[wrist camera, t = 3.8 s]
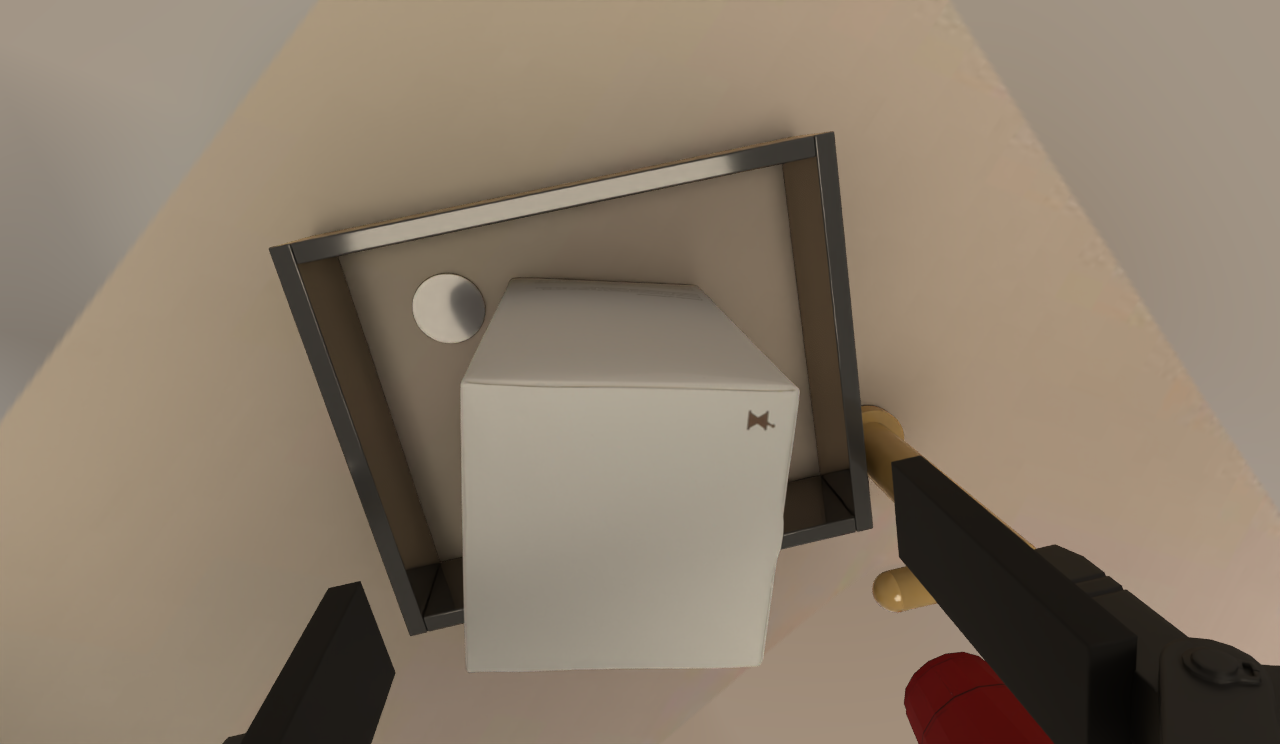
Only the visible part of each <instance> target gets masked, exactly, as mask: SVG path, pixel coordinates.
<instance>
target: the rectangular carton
mask: <svg viewBox="0 0 1280 744" xmlns="http://www.w3.org/2000/svg"><path fill="white" fill-rule="evenodd" d="M799 395H800V391H799V389H798V387H797V386H796V385H795V384H794V383H793V382H792V381H791V380H790V379H789V378H788V377H787V376H786V375H785V374H784V373H783V372H782V371H781V370H780V369H779V368H778V367H777V366H776V365H775V364H774V363H773V362H772V361H771V360H770V359H769V358H768V357H767V356H766V355H765V354H764V353H763V352H762V351H761V350H760V349H759V348H758V347H757V346H756V345H755V344H754V343H753V342H752V341H751V340H750V339H749V338H748V337H747V336H746V335H745V334H744V333H743V332H742V331H741V330H740V329H739V328H738V327H737V326H736V325H735V324H734V323H733V322H732V321H731V320H730V319H729V318H728V317H727V316H726V314H725V313H724V312H723V311H722V310H721V309H720V308H719V307H717V305H716V304H715V303H714V302H713V301H712V300H711V299H710V298H709V297H708V296H707V295H706V294H705V293H704V292H703V291H702V290H701V289H700V288H699V287H698V286H695V285H679V284H656V283H632V282H609V281H585V280H564V279H543V278H515V279H511V280H510V282H509V284H508V286H507V288H506V290H505V292H504V295H503V297H502V299H501V301H500V303H499V305H498V307H497V309H496V311H495V313H494V315H493V317H492V319H491V321H490V323H489V325H488V328H487V330H486V331H485V333H484V335H483V337H482V339H481V342H480V344H479V346H478V348H477V350H476V352H475V354H474V356H473V358H472V360H471V362H470V364H469V366H468V368H467V371H466V373H465V375H464V377H463V379H462V381H461V385H460V407H461V481H462V540H463V593H464V632H465V662H466V670H467V671H468V673H475V672H532V671H558V670H578V669H659V668H670V669H687V668H735V667H755V666H760V664H761V663H762V661H763V657H764V649H765V642H766V635H767V628H768V620H769V613H770V606H771V599H772V591H773V584H774V577H775V570H776V564H777V559H778V556H779V552H780V549H781V544H782V538H783V525H784V521H783V513H784V506H785V499H786V491H787V482H788V475H789V468H790V462H791V455H792V449H793V442H794V436H795V428H796V420H797V412H798V405H799Z"/></svg>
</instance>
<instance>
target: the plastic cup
mask: <svg viewBox="0 0 1280 744" xmlns="http://www.w3.org/2000/svg"><path fill="white" fill-rule="evenodd" d="M904 705H905V708H906V715H907V717H908V719H909V722H910V724H911V727H912V729H913V732H914V734H915V736H916V739H917V741H918V744H1054V743H1053V741H1052V740H1051V739H1050V738H1049V737H1048V735H1047V734H1046V733H1045V732H1044V731H1043V729H1042V728H1041V727H1040V726H1039V725H1038V723H1037V722H1036V721H1035V720H1034V719H1033V717H1032V716H1031V715H1030V714H1029V713H1028V711H1027V710H1026V709H1025V708H1024V707H1023V705H1022V704H1021V703H1020V702H1019V701H1018V699H1017V698H1016V697H1015V696H1014V695H1013V693H1012V692H1011V691H1010V690H1009V689H1008V687H1007V686H1006V685H1005V684H1004V683H1003V681H1002V680H1001V679H1000V678H999V677H998V675H997V674H996V673H995V672H994V671H993V669H992V668H991V667H990V666H989V665H988V663H987V662H986V661H984V660H983V659H982V658H981V657H979V656H976V655H973V654H969V653H965V652H957V653H948V654H944V655H942V656H939V657H937V658H935V659H932V660H930V661H928V662H927V663H926V664H924V665H923V666H922V667H921V668H920V669H919V670H918V671H917V672H915V673H914V675H913V676H912V678H911V680H910V682H909V683H908V685H907V687H906V689H905V699H904Z"/></svg>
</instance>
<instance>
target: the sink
mask: <svg viewBox="0 0 1280 744" xmlns="http://www.w3.org/2000/svg"><path fill="white" fill-rule="evenodd" d="M779 164H782V166H783V174H784V183H785V191H786V199H787V207H788V215H789V223H790V231H791V240H792V248H793V256H794V264H795V272H796V280H797V288H798V297H799V305H800V313H801V321H802V329H803V337H804V345H805V354H806V362H807V370H808V378H809V386H810V394H811V402H812V411H813V419H814V427H815V435H816V443H817V451H818V459H819V468H820V476H814V477H810V478H806V479H801V480H797V481H792V482H788V483H787V491H786V499H785V506H784V513H783V521H784V525H783V538H782V544H781V549H785V548H789V547H794V546H798V545H802V544H807V543H811V542H815V541H819V540H824V539H828V538H832V537H837V536H841V535H845V534H849V533H854V532H856V531H857V532H859V531H863V530H868V529H872V528H873V522H872V512H871V502H870V492H869V481H868V477H869V478H870V479H871V480H872V481H873V482H874V483H875V484H876V485H877V486H878V487H879V488H880V489H881V490H882V491H883V492H884V493H885V494H886V495H887V496H888V497H889V498H890V499H891V500H892V501H893V502H894V491H893V479H892V467H891V462H893V461H897V460H902V459H906V458H910V457H915V456H919V455H921V454H920V453H919V452H918V451H916V450H915V449H914V448H913V447H911V446H910V445H909V444H908V443H906V442H905V441H904V433H903V429H902V426H901V424H900V423H899V421H898V420H897V419H896V418H895V417H894V416H892V415H891V414H890V413H889V412H887V411H886V410H884V409H882V408H880V407H877V406H861V400H860V390H859V380H858V369H857V359H856V349H855V339H854V329H853V319H852V308H851V298H850V288H849V278H848V268H847V257H846V247H845V237H844V227H843V217H842V207H841V196H840V186H839V176H838V166H837V156H836V146H835V135H834V132H833V131H831V132H823V133H815V134H807V135H799V136H793V137H788V138H783V139H779V140H774V141H769V142H764V143H759V144H754V145H749V146H744V147H740V148H735V149H730V150H725V151H720V152H715V153H711V154H706V155H701V156H696V157H691V158H686V159H681V160H677V161H672V162H667V163H662V164H657V165H652V166H648V167H643V168H638V169H633V170H628V171H623V172H618V173H614V174H609V175H604V176H599V177H594V178H589V179H585V180H580V181H575V182H570V183H565V184H560V185H555V186H551V187H546V188H541V189H536V190H531V191H526V192H522V193H517V194H512V195H507V196H502V197H497V198H492V199H488V200H483V201H478V202H473V203H468V204H463V205H459V206H454V207H449V208H444V209H439V210H434V211H430V212H425V213H420V214H415V215H410V216H405V217H400V218H396V219H391V220H386V221H381V222H376V223H371V224H367V225H362V226H357V227H352V228H347V229H342V230H337V231H333V232H328V233H323V234H318V235H313V236H309V237H306V238H302V239H299V240H295V241H291V242H288V243H284V244H281V245H277V246H273V247H270V248H269V251H270V254H271V257H272V260H273V262H274V265H275V268H276V271H277V273H278V276H279V279H280V281H281V284H282V287H283V290H284V292H285V295H286V298H287V301H288V303H289V306H290V309H291V312H292V314H293V317H294V320H295V323H296V325H297V328H298V331H299V333H300V336H301V339H302V342H303V344H304V347H305V350H306V353H307V355H308V358H309V361H310V364H311V366H312V369H313V372H314V374H315V377H316V380H317V383H318V385H319V388H320V391H321V394H322V396H323V399H324V402H325V405H326V407H327V410H328V413H329V416H330V418H331V421H332V424H333V426H334V429H335V432H336V435H337V437H338V440H339V443H340V446H341V448H342V451H343V454H344V457H345V459H346V462H347V465H348V468H349V470H350V473H351V476H352V478H353V481H354V484H355V487H356V489H357V492H358V495H359V498H360V500H361V503H362V506H363V509H364V511H365V514H366V517H367V519H368V522H369V525H370V528H371V530H372V533H373V536H374V539H375V541H376V544H377V547H378V550H379V552H380V555H381V558H382V561H383V563H384V566H385V569H386V571H387V574H388V577H389V580H390V582H391V585H392V588H393V591H394V593H395V596H396V599H397V602H398V604H399V607H400V610H401V613H402V615H403V618H404V621H405V623H406V626H407V629H408V632H409V634H410V636H413V635H418V634H422V633H426V632H427V631H433V630H438V629H442V628H446V627H451V626H455V625H459V624H463V623H464V593H463V557H461V558H456V559H452V560H447V561H443V562H441V563H440V560H439V557H438V554H437V551H436V549H435V546H434V543H433V540H432V537H431V534H430V531H429V528H428V525H427V522H426V519H425V516H424V513H423V510H422V507H421V504H420V501H419V498H418V495H417V492H416V489H415V486H414V483H413V480H412V477H411V474H410V471H409V468H408V465H407V462H406V459H405V456H404V453H403V450H402V447H401V444H400V441H399V438H398V435H397V432H396V429H395V426H394V423H393V420H392V417H391V414H390V411H389V408H388V405H387V402H386V399H385V396H384V393H383V390H382V387H381V384H380V381H379V378H378V375H377V372H376V369H375V366H374V363H373V360H372V357H371V354H370V351H369V348H368V345H367V342H366V339H365V336H364V333H363V330H362V327H361V324H360V321H359V318H358V315H357V312H356V309H355V306H354V303H353V300H352V297H351V295H350V292H349V289H348V286H347V283H346V280H345V277H344V274H343V271H342V268H341V265H340V262H339V259H338V256H341V255H346V254H351V253H356V252H361V251H365V250H370V249H375V248H380V247H385V246H389V245H394V244H399V243H404V242H409V241H414V240H418V239H423V238H428V237H433V236H438V235H442V234H447V233H452V232H457V231H462V230H466V229H471V228H476V227H481V226H486V225H490V224H495V223H500V222H505V221H510V220H514V219H519V218H524V217H529V216H534V215H538V214H543V213H548V212H553V211H558V210H563V209H567V208H572V207H577V206H582V205H587V204H591V203H596V202H601V201H606V200H611V199H615V198H620V197H625V196H630V195H635V194H639V193H644V192H649V191H654V190H659V189H663V188H668V187H673V186H678V185H683V184H688V183H692V182H697V181H702V180H707V179H712V178H716V177H721V176H726V175H731V174H736V173H740V172H745V171H750V170H755V169H760V168H764V167H769V166H774V165H779ZM412 311H413V316H414V319H415V321H416V323H417V325H418V326H419V328H420V329H421V330H422V331H423V332H424V333H425V334H426V335H427V336H429V337H430V338H432V339H434V340H436V341H439V342H442V343H459V342H463V341H465V340H467V339H469V338H471V337H472V336H473V335H475V334H476V333H477V331H478V330H479V329H480V327H481V325H482V323H483V321H484V317H485V302H484V299H483V296H482V294H481V292H480V291H479V289H478V288H477V287H476V286H475V285H474V284H473V283H472V282H471V281H470V280H468V279H467V278H465V277H463V276H460V275H457V274H451V273H443V274H437V275H434V276H432V277H430V278H428V279H427V280H425V281H424V282H423V283H422V284H421V285H420V286H419V287H418V289H417V290H416V292H415V294H414V297H413V302H412ZM923 457H924V456H923ZM924 458H925V457H924ZM925 459H926V458H925ZM926 460H927V459H926ZM928 461H929V460H928ZM929 462H930V461H929ZM930 463H931V462H930ZM931 464H932V463H931ZM932 465H934V464H932ZM934 466H935V465H934ZM935 467H936V466H935ZM936 468H937V467H936ZM937 469H938V468H937ZM938 470H940V469H938ZM940 471H941V470H940ZM941 472H942V471H941ZM942 473H943V472H942ZM943 474H944V475H945V476H947V475H946V474H945V473H943ZM947 477H948V476H947ZM948 478H949V479H950V480H951V481H953V480H952V479H951V478H950V477H948ZM953 482H954V481H953ZM954 483H955V484H956V485H957V486H959V485H958V484H957V483H956V482H954ZM959 487H960V488H961V489H962V490H963V491H965V492H966V493H967V494H968V495H969V496H971V497H972V498H973V499H974V500H975V501H977V502H978V503H979V504H980V505H981V506H983V507H984V508H985V509H986V510H987V511H989V512H990V513H991V514H992V515H993V516H995V517H996V518H997V519H998V520H999V521H1001V522H1002V523H1003V524H1004V525H1005V526H1006V527H1008V528H1009V529H1010V530H1011V531H1012V532H1014V533H1015V534H1016V535H1017V536H1018V537H1020V538H1021V539H1022V540H1023V541H1024V542H1026V543H1027V544H1028V545H1029V546H1030V547H1032V548H1033V549H1036V548H1035V547H1034V546H1033V545H1032V544H1031V543H1030V542H1028V541H1027V540H1026V539H1025V538H1023V537H1022V536H1021V535H1020V534H1018V533H1017V532H1016V531H1015V530H1014V529H1012V528H1011V527H1010V526H1009V525H1007V524H1006V523H1005V522H1004V521H1002V520H1001V519H1000V518H999V517H998V516H996V515H995V514H994V513H993V512H991V511H990V510H989V509H988V508H986V507H985V506H984V505H983V504H982V503H980V502H979V501H978V500H977V499H975V498H974V497H973V496H972V495H970V494H969V493H968V492H967V491H966V490H964V489H963V488H962V487H961V486H959ZM781 549H780V550H781ZM872 592H873V596H874V598H875V601H876V602H877V603H878V605H879V606H881V607H882V608H883V609H885V610H887V611H890V612H903V611H907V610H911V609H916V608H919V607H924V606H928V605H932V604H936V603H937V602H936V601H935V600H934V598H933V597H932V596H931V595H930V594H929V592H928V591H927V590H926V589H925V588H924V586H923V585H922V584H921V583H920V582H919V580H918V579H917V578H916V577H915V576H914V574H913V573H912V572H911V571H910V570H909V568H908V567H907V566H905V567H901V568H897V569H893V570H888V571H885V572H882V573H881V574H879V575H878V576H877V577H876V579H875V580H874V583H873V587H872Z"/></svg>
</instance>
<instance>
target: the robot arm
mask: <svg viewBox="0 0 1280 744" xmlns="http://www.w3.org/2000/svg"><path fill="white" fill-rule="evenodd" d="M891 467H892V479H893V491H894V503H895V515H896V526H897V538H898V550H899V558H900V559H901V560H902V561H903V562H904V564H905V565H906V566H907V567H908V568H909V570H910V571H911V572H912V573H913V574H914V576H915V577H916V578H917V579H918V580H919V582H920V583H921V584H922V585H923V586H924V588H925V589H926V590H927V591H928V592H929V594H930V595H931V596H932V597H933V598H934V600H935V601H936V602H937V603H938V604H939V605H940V607H941V608H942V609H943V610H944V612H945V613H946V614H947V615H948V616H949V618H950V619H951V620H952V621H953V622H954V624H955V625H956V626H957V627H958V628H959V630H960V631H961V632H962V633H963V634H964V636H965V637H966V638H967V639H968V640H969V642H970V643H971V644H972V645H973V646H974V648H975V649H976V650H977V651H978V653H979V654H980V655H981V656H982V657H983V659H984V660H985V661H986V662H987V663H988V665H989V666H990V667H991V668H992V669H993V671H994V672H995V673H996V674H997V675H998V677H999V678H1000V679H1001V680H1002V681H1003V683H1004V684H1005V685H1006V686H1007V687H1008V689H1009V690H1010V691H1011V692H1012V693H1013V695H1014V696H1015V697H1016V698H1017V699H1018V701H1019V702H1020V703H1021V704H1022V705H1023V707H1024V708H1025V709H1026V710H1027V711H1028V713H1029V714H1030V715H1031V716H1032V717H1033V719H1034V720H1035V721H1036V722H1037V723H1038V725H1039V726H1040V727H1041V728H1042V729H1043V731H1044V732H1045V733H1046V734H1047V735H1048V737H1049V738H1050V739H1051V740H1052V741H1053V743H1054V744H1280V666H1270V665H1261V664H1260V663H1259V662H1257V661H1256V660H1255V659H1254V658H1253V657H1252V656H1250V655H1248V654H1246V653H1244V652H1242V651H1240V650H1239V649H1237V648H1235V647H1233V646H1230V645H1227V644H1224V643H1220V642H1217V641H1214V640H1210V639H1200V638H1191V637H1190V638H1189V637H1188V636H1186V635H1185V634H1184V633H1182V632H1181V631H1180V630H1178V629H1177V628H1176V627H1175V626H1173V625H1172V624H1171V623H1169V622H1168V621H1167V620H1165V619H1164V618H1163V617H1162V616H1160V615H1159V614H1158V613H1156V612H1155V611H1154V610H1152V609H1151V608H1150V607H1149V606H1147V605H1146V604H1145V603H1143V602H1142V601H1141V600H1139V599H1138V598H1137V597H1136V596H1134V595H1133V594H1132V593H1130V592H1129V591H1128V590H1123V588H1122V586H1121V585H1120V584H1119V583H1117V582H1116V581H1115V580H1113V579H1112V578H1111V577H1110V576H1106V575H1105V573H1104V572H1103V571H1102V570H1100V569H1099V568H1098V567H1097V566H1095V565H1094V564H1093V563H1091V562H1090V561H1089V560H1087V559H1086V558H1085V557H1084V556H1081V555H1079V554H1077V553H1074V552H1072V551H1069V550H1067V549H1065V548H1062V547H1060V546H1058V545H1051V546H1046V547H1042V548H1038V549H1033V548H1032V547H1030V546H1029V545H1028V544H1027V543H1026V542H1024V541H1023V540H1022V539H1021V538H1020V537H1018V536H1017V535H1016V534H1015V533H1014V532H1012V531H1011V530H1010V529H1009V528H1008V527H1006V526H1005V525H1004V524H1003V523H1002V522H1001V521H999V520H998V519H997V518H996V517H995V516H993V515H992V514H991V513H990V512H989V511H987V510H986V509H985V508H984V507H983V506H981V505H980V504H979V503H978V502H977V501H975V500H974V499H973V498H972V497H971V496H969V495H968V494H967V493H966V492H965V491H963V490H962V489H961V488H960V487H959V486H957V485H956V484H955V483H954V482H953V481H951V480H950V479H949V478H948V477H947V476H945V475H944V474H943V473H942V472H941V471H940V470H938V469H937V468H936V467H935V466H934V465H932V464H931V463H930V462H929V461H928V460H926V459H925V458H924V457H923V456H922V455H919V456H915V457H910V458H906V459H902V460H897V461H893V462H891ZM394 676H395V670H394V667H393V665H392V662H391V660H390V657H389V654H388V652H387V649H386V647H385V644H384V641H383V639H382V636H381V634H380V631H379V628H378V626H377V623H376V621H375V618H374V615H373V613H372V610H371V607H370V605H369V602H368V600H367V597H366V594H365V592H364V589H363V587H362V584H361V581H358V582H354V583H349V584H345V585H341V586H336V587H332V588H328V590H327V592H326V593H325V595H324V597H323V599H322V600H321V602H320V604H319V606H318V608H317V609H316V611H315V613H314V615H313V616H312V618H311V620H310V622H309V623H308V625H307V627H306V629H305V630H304V632H303V634H302V636H301V637H300V639H299V641H298V643H297V644H296V646H295V648H294V650H293V651H292V653H291V655H290V657H289V659H288V660H287V662H286V664H285V666H284V667H283V669H282V671H281V673H280V674H279V676H278V678H277V680H276V681H275V683H274V685H273V687H272V688H271V690H270V692H269V694H268V695H267V697H266V699H265V701H264V703H263V704H262V706H261V708H260V710H259V711H258V713H257V715H256V717H255V718H254V720H253V722H252V724H251V725H250V727H249V729H248V731H247V732H246V733H245V734H240V735H236V736H232V737H228V738H227V739H226V740H225V741H224V742H223V743H222V744H371V743H372V740H373V737H374V734H375V731H376V728H377V725H378V722H379V719H380V716H381V714H382V711H383V708H384V705H385V702H386V699H387V696H388V693H389V690H390V687H391V684H392V681H393V679H394Z"/></svg>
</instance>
